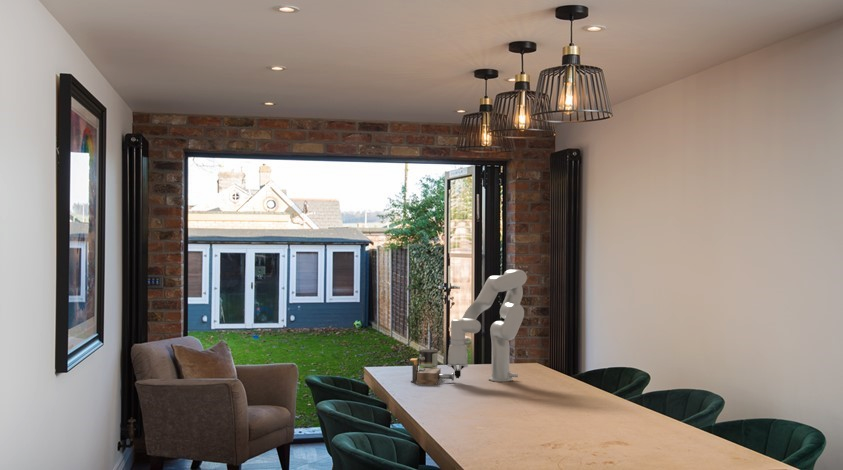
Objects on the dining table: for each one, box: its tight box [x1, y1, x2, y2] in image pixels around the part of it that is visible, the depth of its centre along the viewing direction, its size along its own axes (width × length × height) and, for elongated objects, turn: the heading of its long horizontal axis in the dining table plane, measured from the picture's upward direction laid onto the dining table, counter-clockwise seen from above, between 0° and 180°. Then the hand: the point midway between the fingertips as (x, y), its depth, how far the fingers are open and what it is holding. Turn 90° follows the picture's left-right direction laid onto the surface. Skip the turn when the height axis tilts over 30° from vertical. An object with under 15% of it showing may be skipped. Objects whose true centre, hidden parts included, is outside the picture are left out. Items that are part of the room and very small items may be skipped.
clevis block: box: [410, 362, 442, 386], centre depth 418 cm, size 14×18×9 cm
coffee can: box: [418, 348, 438, 370], centre depth 437 cm, size 10×10×14 cm
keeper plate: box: [409, 357, 419, 370], centre depth 419 cm, size 3×5×6 cm, turn 172°
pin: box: [438, 372, 455, 382], centre depth 416 cm, size 12×4×4 cm, turn 81°
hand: (457, 377), depth 415 cm, fingers closed
